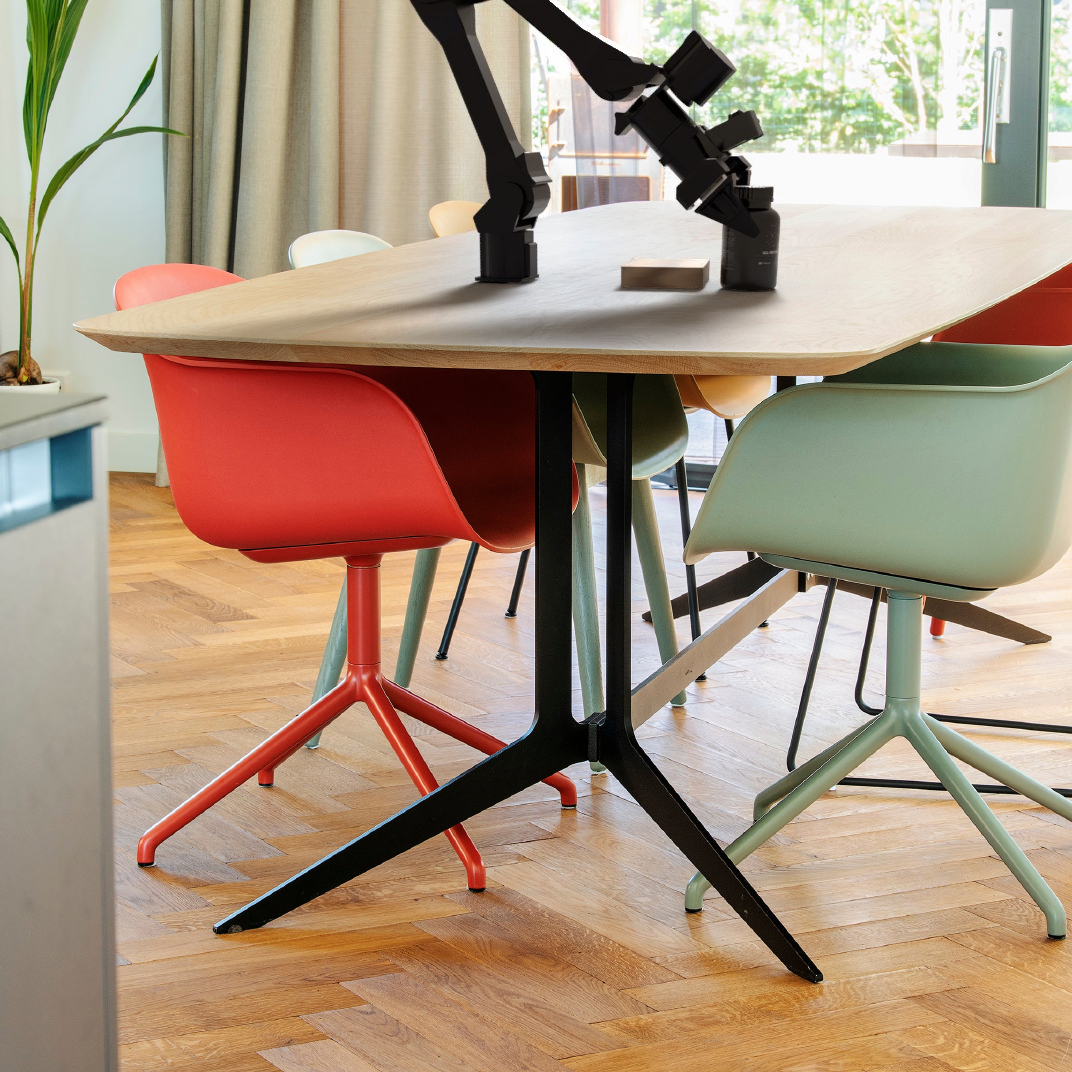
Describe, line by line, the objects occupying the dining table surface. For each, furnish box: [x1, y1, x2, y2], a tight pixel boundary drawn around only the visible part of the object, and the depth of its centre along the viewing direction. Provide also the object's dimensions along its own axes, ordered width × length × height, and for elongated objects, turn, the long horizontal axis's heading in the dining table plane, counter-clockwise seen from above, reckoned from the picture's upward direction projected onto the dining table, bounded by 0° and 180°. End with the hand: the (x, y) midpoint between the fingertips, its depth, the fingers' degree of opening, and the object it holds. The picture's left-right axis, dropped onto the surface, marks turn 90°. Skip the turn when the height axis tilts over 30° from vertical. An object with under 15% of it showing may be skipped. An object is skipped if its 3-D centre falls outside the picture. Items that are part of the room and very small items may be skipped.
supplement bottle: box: [719, 185, 781, 292], centre depth 155 cm, size 7×7×12 cm
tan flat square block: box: [620, 257, 711, 290], centre depth 163 cm, size 10×10×2 cm
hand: (762, 232), depth 155 cm, fingers closed on supplement bottle, 7 cm apart
